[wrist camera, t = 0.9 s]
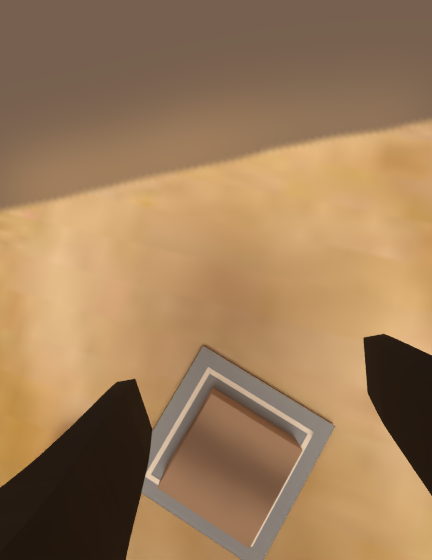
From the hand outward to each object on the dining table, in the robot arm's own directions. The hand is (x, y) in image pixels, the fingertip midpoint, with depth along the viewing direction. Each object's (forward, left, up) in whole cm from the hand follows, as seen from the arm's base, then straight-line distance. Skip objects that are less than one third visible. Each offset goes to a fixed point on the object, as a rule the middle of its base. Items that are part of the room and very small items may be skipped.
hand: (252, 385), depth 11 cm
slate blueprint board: (-8, -4, -20) cm, 22 cm away
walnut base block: (-8, -4, -19) cm, 21 cm away
